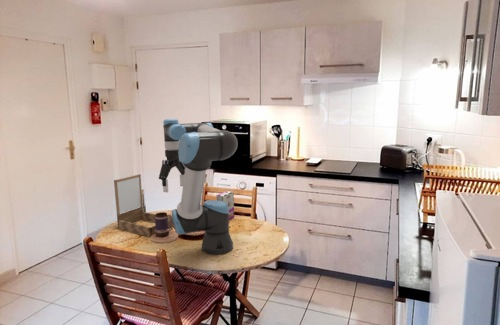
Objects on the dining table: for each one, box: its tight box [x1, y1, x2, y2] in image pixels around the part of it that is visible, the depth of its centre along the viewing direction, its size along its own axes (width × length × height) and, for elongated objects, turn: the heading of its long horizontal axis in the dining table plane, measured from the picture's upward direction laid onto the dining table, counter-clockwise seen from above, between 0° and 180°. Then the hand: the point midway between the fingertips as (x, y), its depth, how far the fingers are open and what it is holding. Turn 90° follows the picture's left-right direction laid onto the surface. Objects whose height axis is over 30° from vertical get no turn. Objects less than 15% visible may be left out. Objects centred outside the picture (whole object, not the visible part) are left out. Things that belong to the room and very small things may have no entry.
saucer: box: [150, 230, 179, 244], centre depth 184 cm, size 14×14×1 cm
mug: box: [154, 212, 174, 237], centre depth 183 cm, size 10×7×12 cm
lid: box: [113, 174, 143, 216], centre depth 203 cm, size 1×18×20 cm, turn 149°
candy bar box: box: [216, 190, 235, 221], centre depth 210 cm, size 11×5×16 cm, turn 147°
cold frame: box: [116, 188, 174, 238], centre depth 198 cm, size 26×18×19 cm
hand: (174, 189), depth 185 cm, fingers open, 13 cm apart
